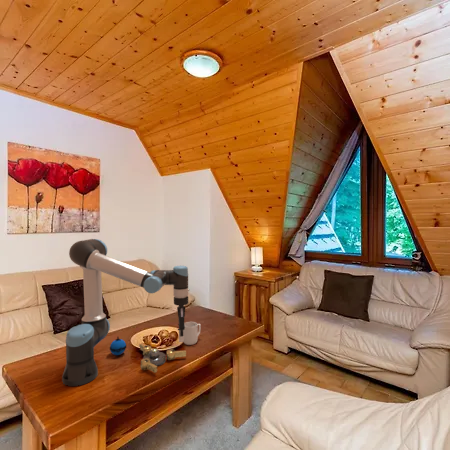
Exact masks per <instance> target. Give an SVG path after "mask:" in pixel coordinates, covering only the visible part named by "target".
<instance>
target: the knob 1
mask: <svg viewBox="0 0 450 450" xmlns="http://www.w3.org/2000/svg"><path fill="white" fill-rule="evenodd" d="M138 346H139V347H140V348H141V349H140V351H142V355H143V357H144V356H145V355H146V354H148V353H150V351H151V350H152V345H145V344H143V343H139V345H138Z"/></svg>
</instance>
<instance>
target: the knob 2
mask: <svg viewBox="0 0 450 450" xmlns="http://www.w3.org/2000/svg"><path fill="white" fill-rule="evenodd" d="M140 369H141V371H147V370H149V371H151V372H152V373H157V372H158V366H156V365H154V364H151V363H150V359H148V358H145V359H143V358H142V359H141V360H140Z"/></svg>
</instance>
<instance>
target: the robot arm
mask: <svg viewBox="0 0 450 450" xmlns="http://www.w3.org/2000/svg"><path fill="white" fill-rule="evenodd" d="M71 245H72V246H70V247H69V248H70V249H69V251H68V256H69V258H70V260H71V262H72V263H74V264H75V265H77V266H79V267H80V268H81V269H82V272H83V274H82V276H83V277H82V279H83V298H84V299H83V301H84V303H83V304H84V307H83V308H84V315H83V316H82V318H81V324H77V325H76V326H73V327H71V328H70V329H69V330H68V331H66V332H67V333H66V335H65V345H66V346H65V351H66V352H65V356H66V357H65V359H66V362H65V367H64V371H63V373H62V376H61V383H62V382H63V383H62V384H63V385H64V384H65V385H64V386H66V385H68V386H67V387H79V386H83V385H86V384H88V383H91V382H92V381H94V380H95V379H96V378H97V377H98V374H99V369H98V366H97V363H96V360H95V352H94V351H95V347H96V346H97V345H98V344H100V343H101V342H102V341H103V340H104V339H105V338H106V337H107V335H108V334H109V332H110V330H111V328H110V327H111V324H110V321H109V319H107V314H105V313H104V311H103V309H104V308H103V285H102V284H103V283H102V279H103V278H102V273H104V274H106V275H110V276H112V277H115V278H118V279H120V280H123V281H125V282H128V283H130V284H133V285H136V286H138V287H141V288H143V289H144V290H145V292H147V293H148V294H155V293H157V292H159V291H160V290H161V289H162V288H163V287H164V286H173V304H174V305H175V306H176V307H177V309H176V310H177V316H178V317H177V318H178V328H177V331H178V343H184V329H185V326H184V323H185V317H186V306H187V305H188V304H189V292H190V289H189V268H188V266H187V265H175V266H174V267H173V268H172V269H164V270H163V269H156V270H155V269H154V270H151V271H148V270H147V271H146V270H144V269H142V268H140V267H137V266H134V265H131V264H128V263H126V262H123V261H122V260H119V259H115V258H113V257H110V256H108V255H107V254H108V247H107V245H106V243H105V242H104V241H102V240H101V239H97V238H90V239H84V240H83V239H82V240H79V241H76V242H74V243H73V244H71ZM78 385H79V386H78Z"/></svg>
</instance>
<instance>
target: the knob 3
mask: <svg viewBox="0 0 450 450" xmlns="http://www.w3.org/2000/svg"><path fill="white" fill-rule="evenodd" d="M182 357H187V350H175V349H168V350H166V360H168V361H171V360H175V359H176V358H182Z"/></svg>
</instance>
